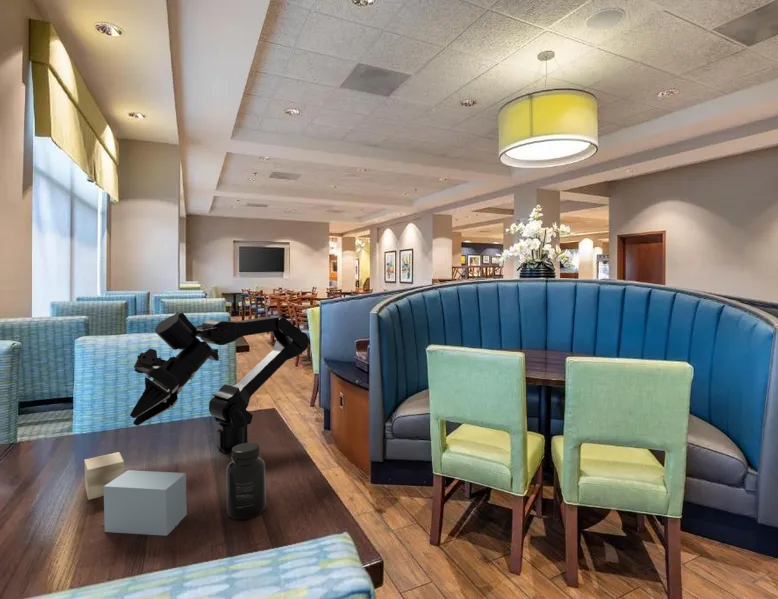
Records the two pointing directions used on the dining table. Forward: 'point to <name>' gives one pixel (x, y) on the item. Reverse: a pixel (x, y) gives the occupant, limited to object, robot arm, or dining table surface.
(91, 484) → the birch cube
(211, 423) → the dining table surface
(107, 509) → the gray block
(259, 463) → the supplement bottle
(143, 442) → the dining table surface
